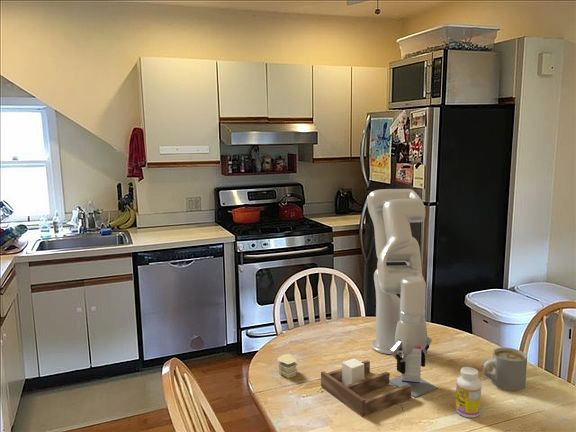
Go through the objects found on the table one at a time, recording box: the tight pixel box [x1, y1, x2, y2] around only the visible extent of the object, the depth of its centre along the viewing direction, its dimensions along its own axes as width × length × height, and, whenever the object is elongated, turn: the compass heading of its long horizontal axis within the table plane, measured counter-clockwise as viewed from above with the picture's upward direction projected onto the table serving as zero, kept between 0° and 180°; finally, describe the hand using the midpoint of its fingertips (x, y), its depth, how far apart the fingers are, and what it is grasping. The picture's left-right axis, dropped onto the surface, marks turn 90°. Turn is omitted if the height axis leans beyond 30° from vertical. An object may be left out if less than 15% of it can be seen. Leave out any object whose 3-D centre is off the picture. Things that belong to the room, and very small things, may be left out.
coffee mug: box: [482, 346, 528, 392], centre depth 154 cm, size 13×10×10 cm
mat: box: [389, 375, 439, 399], centre depth 155 cm, size 10×12×1 cm
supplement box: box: [400, 347, 422, 384], centre depth 153 cm, size 6×6×12 cm
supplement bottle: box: [455, 366, 482, 419], centre depth 138 cm, size 7×7×13 cm
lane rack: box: [320, 359, 412, 418], centre depth 150 cm, size 19×20×5 cm
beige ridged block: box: [276, 353, 298, 379], centre depth 164 cm, size 10×9×6 cm
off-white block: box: [341, 358, 365, 386], centre depth 154 cm, size 5×5×8 cm
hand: (410, 368), depth 154 cm, fingers closed on supplement box, 8 cm apart
